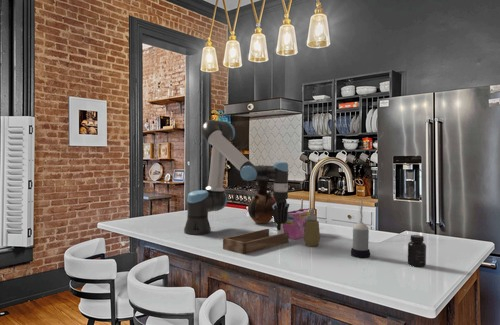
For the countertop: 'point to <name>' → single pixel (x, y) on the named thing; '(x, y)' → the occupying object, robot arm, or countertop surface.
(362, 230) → the grey long nozzle bottle
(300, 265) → the countertop surface
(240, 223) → the countertop surface
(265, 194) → the ceramic vessel
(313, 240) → the squeeze bottle
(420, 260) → the supplement bottle
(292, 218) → the gum box
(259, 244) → the u-shaped wooden frame
